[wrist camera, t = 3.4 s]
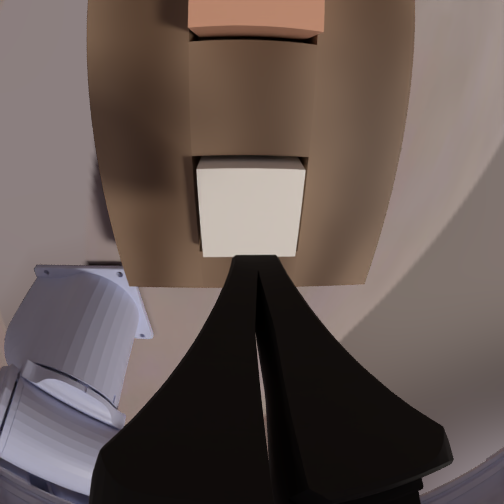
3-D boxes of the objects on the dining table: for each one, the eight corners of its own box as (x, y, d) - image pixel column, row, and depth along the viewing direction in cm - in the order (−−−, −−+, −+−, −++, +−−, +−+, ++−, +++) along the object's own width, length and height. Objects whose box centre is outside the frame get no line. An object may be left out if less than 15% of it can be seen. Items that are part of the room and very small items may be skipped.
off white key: (208, 222, 16) (203, 257, 14) (204, 147, 14) (196, 169, 11) (286, 222, 16) (295, 256, 14) (292, 148, 14) (305, 169, 11)
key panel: (142, 252, 19) (129, 286, 16) (122, -51, 7) (98, -70, 4) (348, 250, 19) (364, 284, 16) (381, -44, 7) (410, -59, 5)
